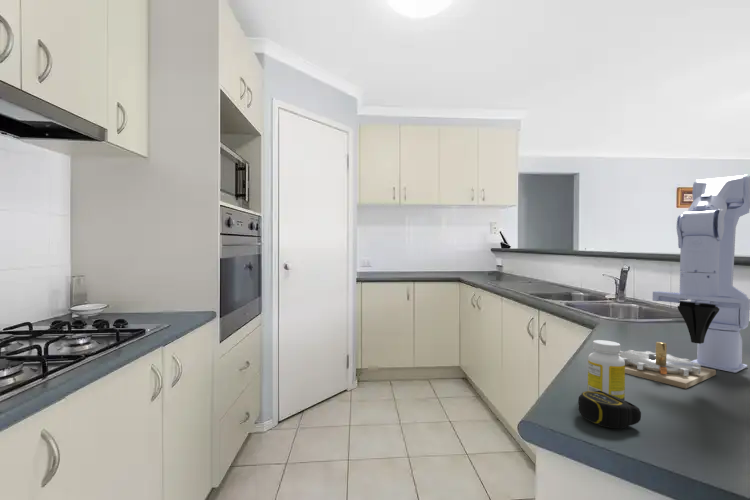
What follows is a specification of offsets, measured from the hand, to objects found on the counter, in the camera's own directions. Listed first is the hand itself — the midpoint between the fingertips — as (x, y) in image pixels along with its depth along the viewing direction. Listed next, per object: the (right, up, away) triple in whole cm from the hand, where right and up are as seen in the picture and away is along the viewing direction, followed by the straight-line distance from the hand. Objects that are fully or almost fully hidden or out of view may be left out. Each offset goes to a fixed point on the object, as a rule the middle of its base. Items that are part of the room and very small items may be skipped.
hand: (697, 342), depth 72 cm
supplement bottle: (-23, -8, -9) cm, 26 cm away
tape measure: (-28, -8, -17) cm, 34 cm away
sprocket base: (-1, -9, +10) cm, 13 cm away
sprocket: (-1, -7, +10) cm, 12 cm away
